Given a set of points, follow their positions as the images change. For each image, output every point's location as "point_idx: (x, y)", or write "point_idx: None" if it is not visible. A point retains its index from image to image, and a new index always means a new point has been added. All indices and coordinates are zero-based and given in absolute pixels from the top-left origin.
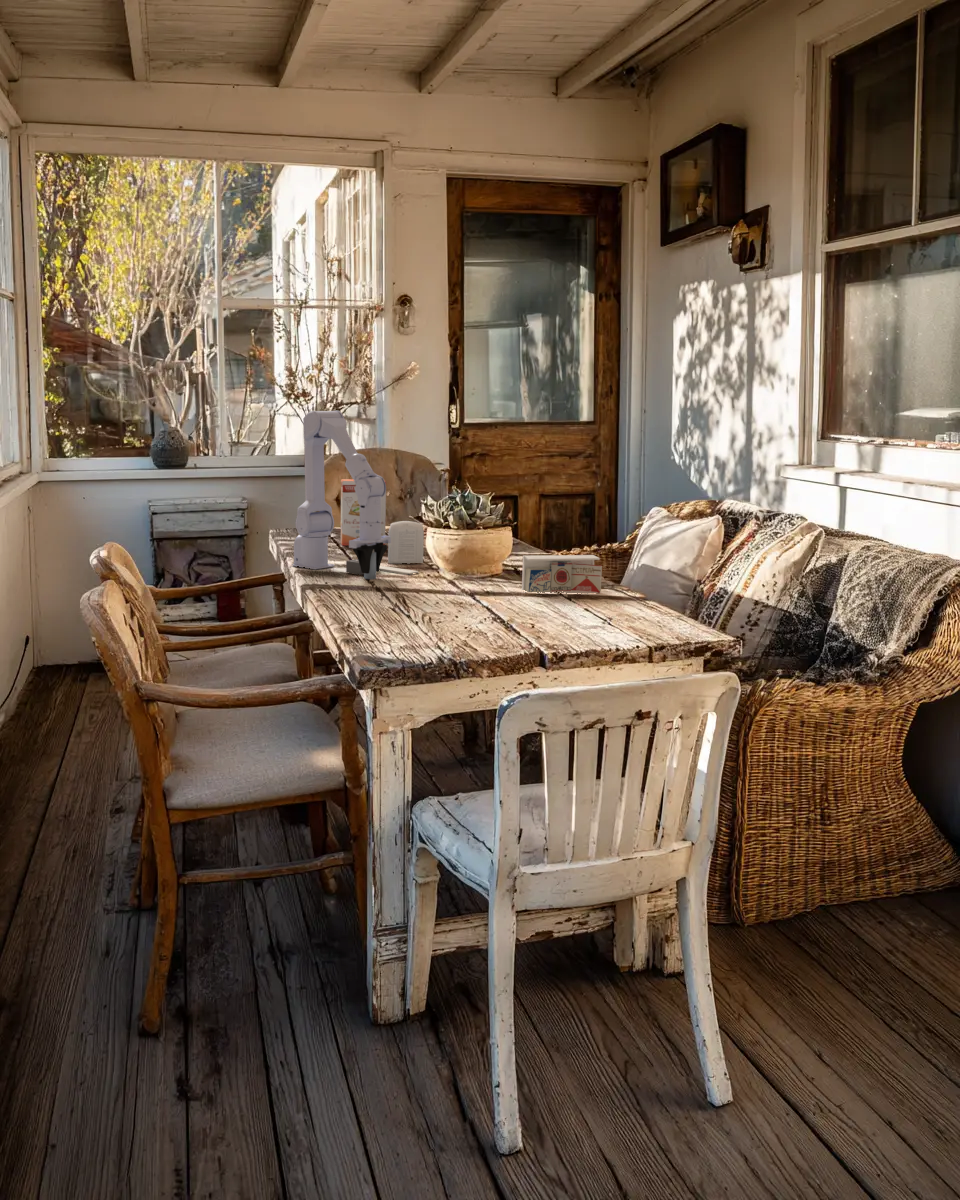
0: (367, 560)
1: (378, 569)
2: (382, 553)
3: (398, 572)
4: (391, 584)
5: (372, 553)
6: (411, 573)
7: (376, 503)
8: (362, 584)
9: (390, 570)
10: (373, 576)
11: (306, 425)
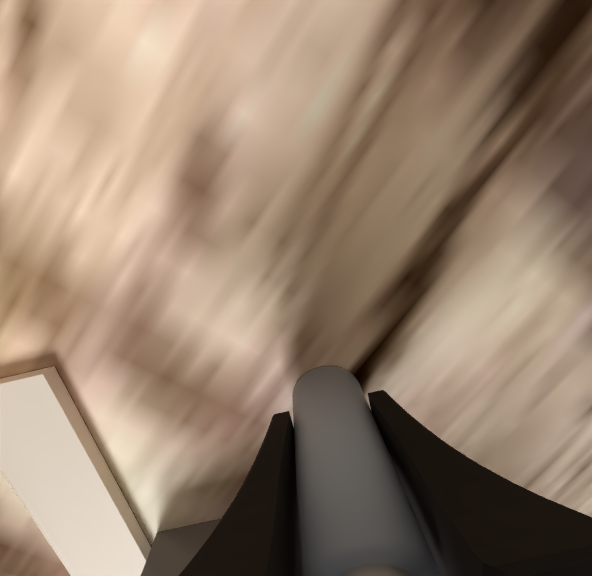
0: (453, 448)
1: (277, 420)
2: (235, 539)
3: (89, 443)
4: (355, 140)
5: (394, 540)
6: (26, 375)
7: None
8: (503, 252)
9: (112, 495)
10: (331, 374)
11: None
